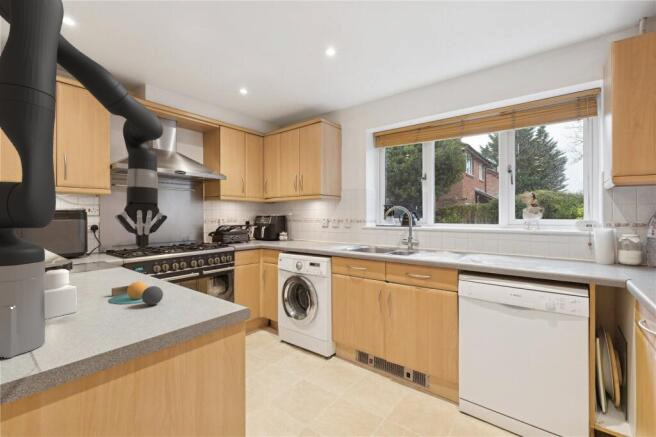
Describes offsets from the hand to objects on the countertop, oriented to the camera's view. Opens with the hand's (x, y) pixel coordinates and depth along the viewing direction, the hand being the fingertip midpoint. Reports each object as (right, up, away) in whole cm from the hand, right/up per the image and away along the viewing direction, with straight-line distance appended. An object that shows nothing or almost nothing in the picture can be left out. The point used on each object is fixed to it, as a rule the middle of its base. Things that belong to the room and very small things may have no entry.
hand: (141, 248), depth 85 cm
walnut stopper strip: (-15, -17, +17) cm, 28 cm away
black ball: (0, -15, +5) cm, 15 cm away
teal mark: (-10, -17, +12) cm, 23 cm away
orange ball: (-8, -14, +11) cm, 20 cm away
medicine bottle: (-21, -18, -4) cm, 28 cm away
